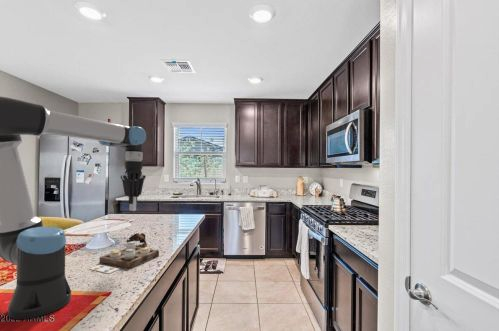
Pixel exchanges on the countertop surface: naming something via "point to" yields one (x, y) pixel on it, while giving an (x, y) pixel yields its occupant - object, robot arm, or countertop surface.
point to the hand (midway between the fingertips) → (132, 210)
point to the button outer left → (131, 245)
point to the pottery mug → (138, 238)
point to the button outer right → (144, 251)
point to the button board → (132, 262)
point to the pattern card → (104, 269)
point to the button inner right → (129, 254)
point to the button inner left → (115, 254)
